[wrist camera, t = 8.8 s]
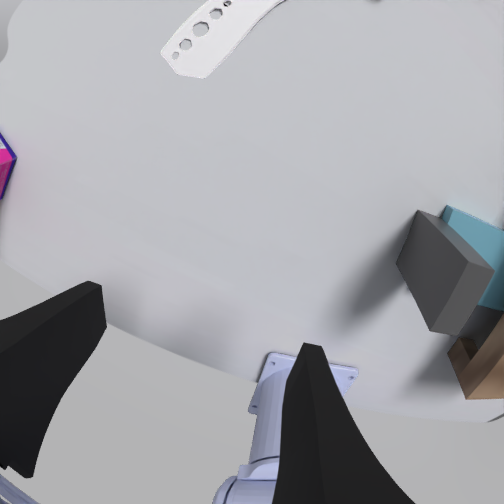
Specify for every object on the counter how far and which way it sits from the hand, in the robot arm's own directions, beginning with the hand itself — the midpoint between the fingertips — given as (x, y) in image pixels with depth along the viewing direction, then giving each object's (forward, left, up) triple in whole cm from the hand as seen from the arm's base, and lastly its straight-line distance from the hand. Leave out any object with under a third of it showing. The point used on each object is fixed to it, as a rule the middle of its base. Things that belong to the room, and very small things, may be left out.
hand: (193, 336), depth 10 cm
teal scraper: (+2, -22, -11) cm, 24 cm away
